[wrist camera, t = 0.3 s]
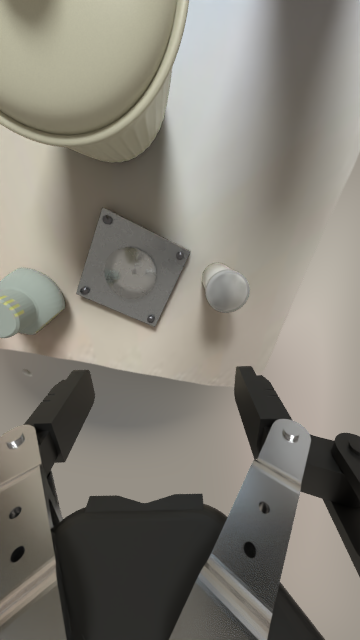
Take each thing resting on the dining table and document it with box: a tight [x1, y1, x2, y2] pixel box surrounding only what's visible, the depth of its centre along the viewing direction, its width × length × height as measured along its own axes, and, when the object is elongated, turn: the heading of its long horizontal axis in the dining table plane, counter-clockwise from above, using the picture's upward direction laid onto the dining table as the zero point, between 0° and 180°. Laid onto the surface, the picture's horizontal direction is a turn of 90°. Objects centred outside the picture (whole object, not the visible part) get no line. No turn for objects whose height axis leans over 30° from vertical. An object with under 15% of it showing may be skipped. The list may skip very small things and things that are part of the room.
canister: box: [0, 0, 189, 163], centre depth 18 cm, size 18×18×21 cm
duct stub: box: [202, 263, 250, 313], centre depth 33 cm, size 6×6×9 cm
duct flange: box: [76, 208, 190, 327], centre depth 35 cm, size 14×14×2 cm
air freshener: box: [0, 268, 65, 338], centre depth 33 cm, size 11×8×10 cm
